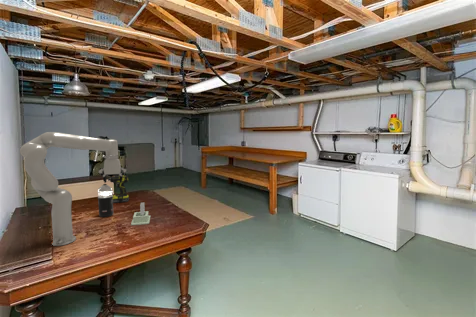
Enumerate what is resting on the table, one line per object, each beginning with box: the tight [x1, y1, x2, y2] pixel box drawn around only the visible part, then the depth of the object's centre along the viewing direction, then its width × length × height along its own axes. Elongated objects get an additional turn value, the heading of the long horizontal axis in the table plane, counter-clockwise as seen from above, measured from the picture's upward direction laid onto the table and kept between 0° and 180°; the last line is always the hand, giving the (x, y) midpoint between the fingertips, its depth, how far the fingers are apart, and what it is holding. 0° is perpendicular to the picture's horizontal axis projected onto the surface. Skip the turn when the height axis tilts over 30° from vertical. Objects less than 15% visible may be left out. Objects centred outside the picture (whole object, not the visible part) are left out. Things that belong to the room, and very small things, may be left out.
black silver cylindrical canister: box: [97, 183, 114, 218], centre depth 192 cm, size 10×10×25 cm
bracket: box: [139, 202, 146, 216], centre depth 182 cm, size 6×5×12 cm
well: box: [130, 210, 151, 226], centre depth 182 cm, size 16×12×5 cm
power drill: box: [107, 174, 130, 204], centre depth 230 cm, size 9×17×25 cm, turn 107°
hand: (113, 182), depth 172 cm, fingers open, 9 cm apart
